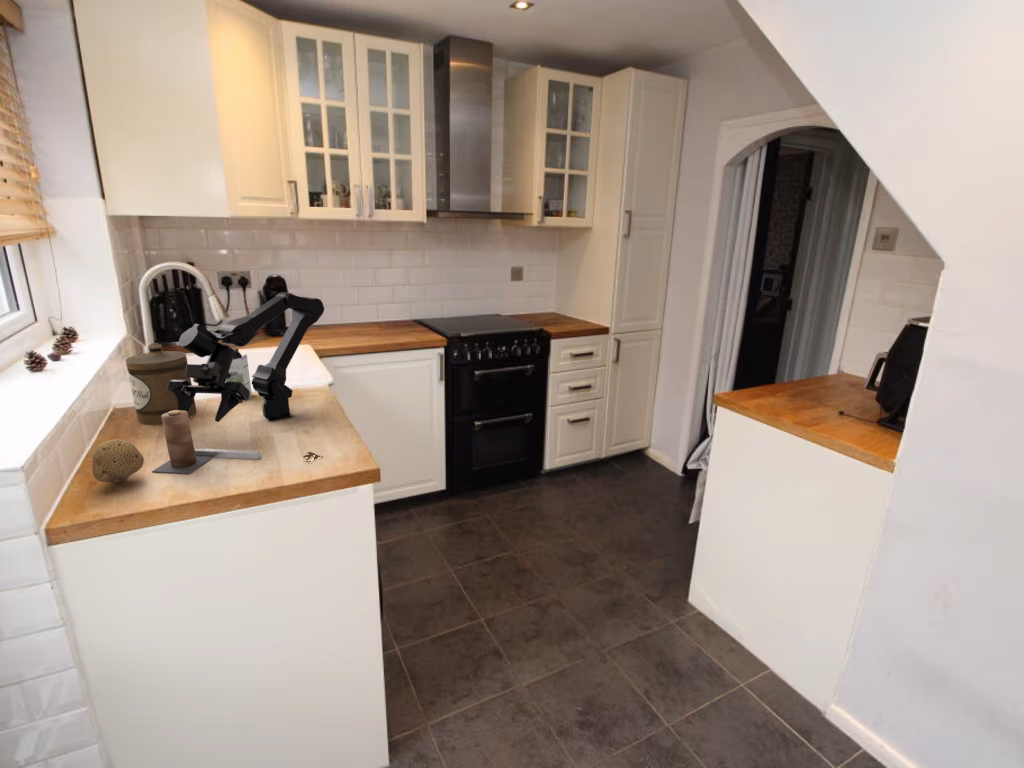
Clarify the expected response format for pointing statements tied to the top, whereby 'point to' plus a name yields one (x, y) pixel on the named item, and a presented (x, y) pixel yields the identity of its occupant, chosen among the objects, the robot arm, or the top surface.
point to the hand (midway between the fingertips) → (198, 420)
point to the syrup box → (240, 372)
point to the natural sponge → (116, 461)
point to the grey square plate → (185, 470)
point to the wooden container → (156, 382)
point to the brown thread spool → (179, 438)
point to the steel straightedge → (228, 453)
